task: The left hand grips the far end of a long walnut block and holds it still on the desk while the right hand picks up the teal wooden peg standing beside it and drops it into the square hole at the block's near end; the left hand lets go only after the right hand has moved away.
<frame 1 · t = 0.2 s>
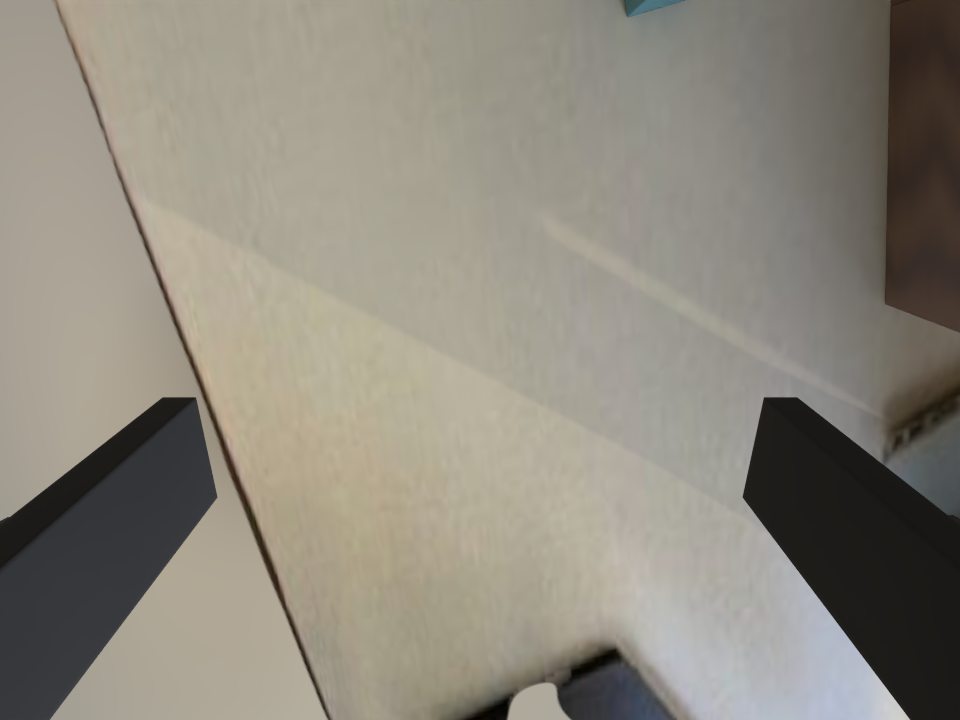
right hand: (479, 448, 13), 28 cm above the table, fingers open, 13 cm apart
hole block: (953, 85, 34), on the table
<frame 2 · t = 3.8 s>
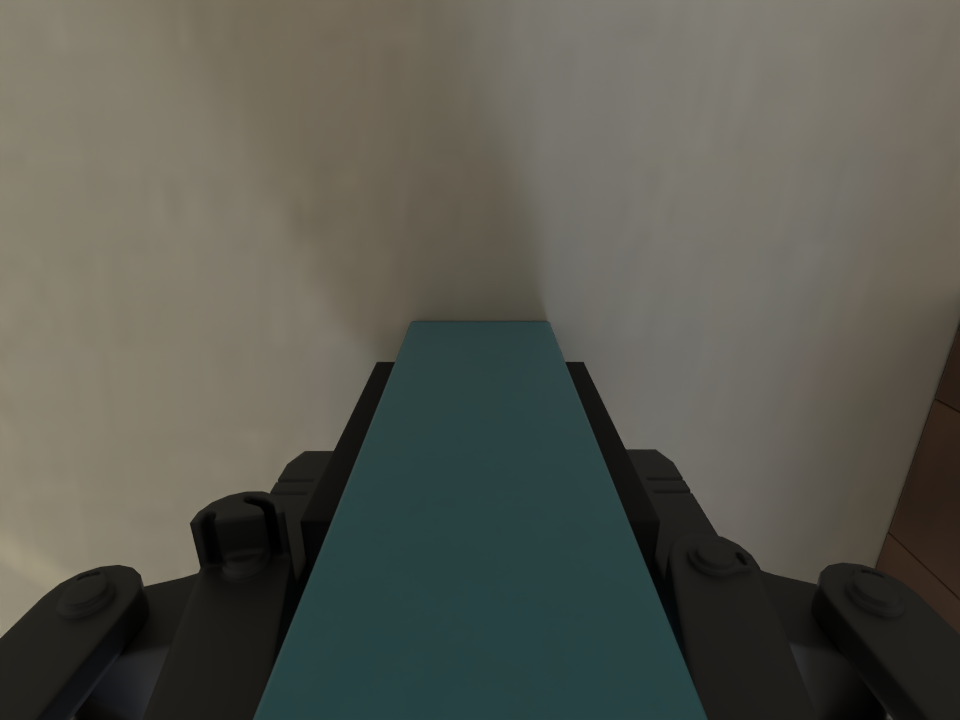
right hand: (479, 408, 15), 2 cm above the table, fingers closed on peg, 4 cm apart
peg: (480, 384, 16), on the table, touching right hand
hole block: (952, 651, 20), on the table
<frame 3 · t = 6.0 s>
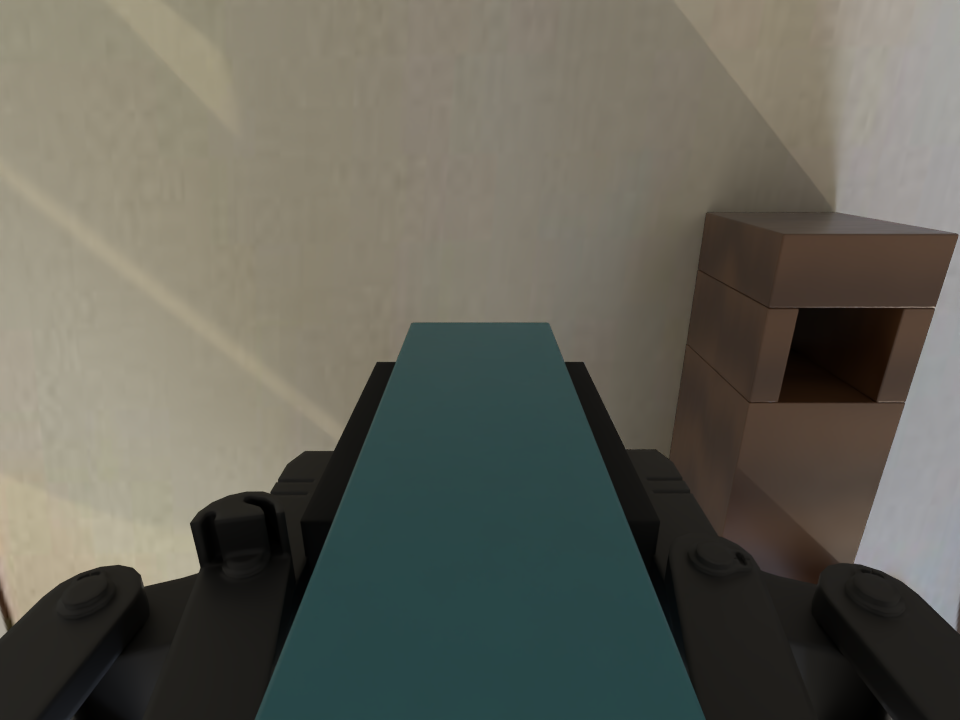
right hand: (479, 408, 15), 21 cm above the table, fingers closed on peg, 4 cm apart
peg: (480, 385, 16), point 19 cm above the table, touching right hand
hole block: (731, 417, 38), on the table, touching left hand
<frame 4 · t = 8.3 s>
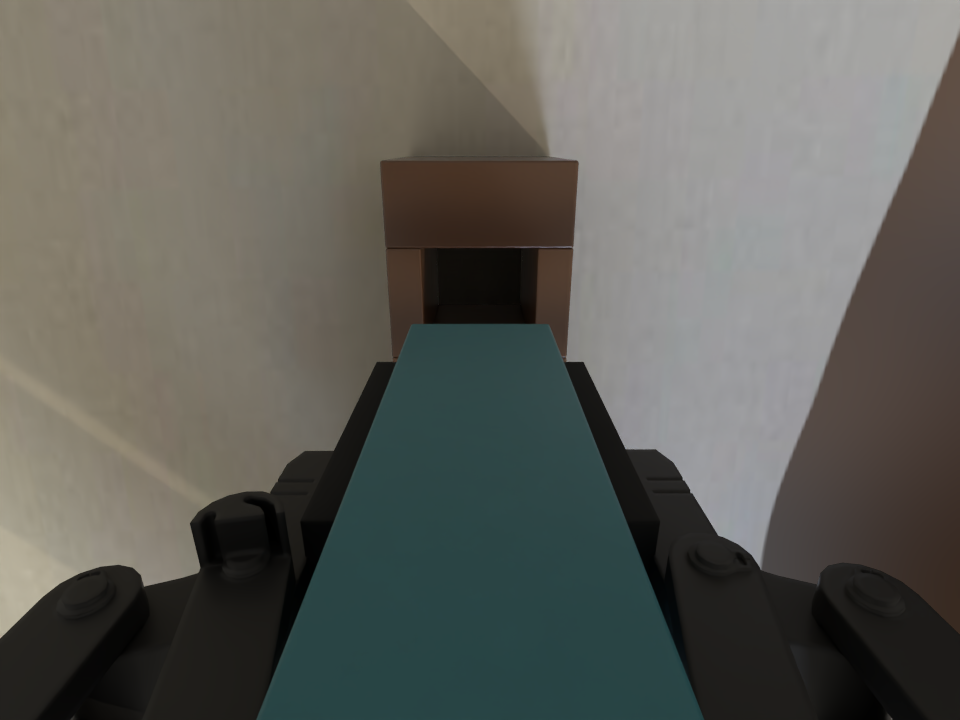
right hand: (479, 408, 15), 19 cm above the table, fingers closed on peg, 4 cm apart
peg: (480, 386, 16), point 17 cm above the table, touching right hand
hole block: (479, 385, 35), on the table, touching left hand
when the right hand's fingers open (11 cm above the table, at t = 10.2 s): peg drops 9 cm, resting in hole block.
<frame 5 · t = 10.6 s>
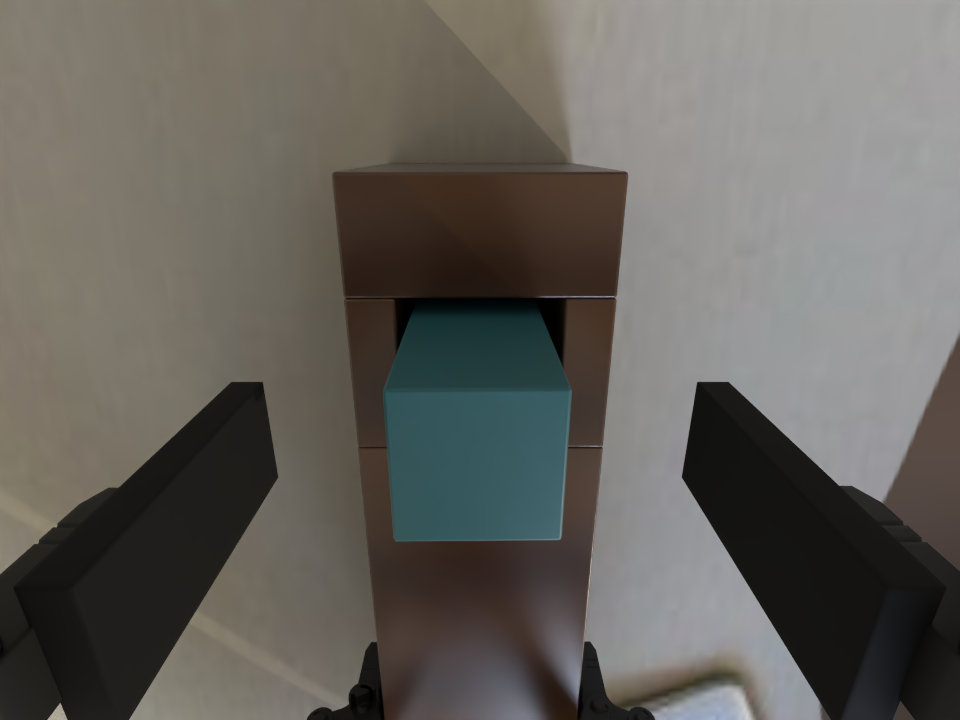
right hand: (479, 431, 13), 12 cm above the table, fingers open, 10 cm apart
peg: (475, 302, 25), resting in hole block
hole block: (480, 450, 28), on the table, touching left hand
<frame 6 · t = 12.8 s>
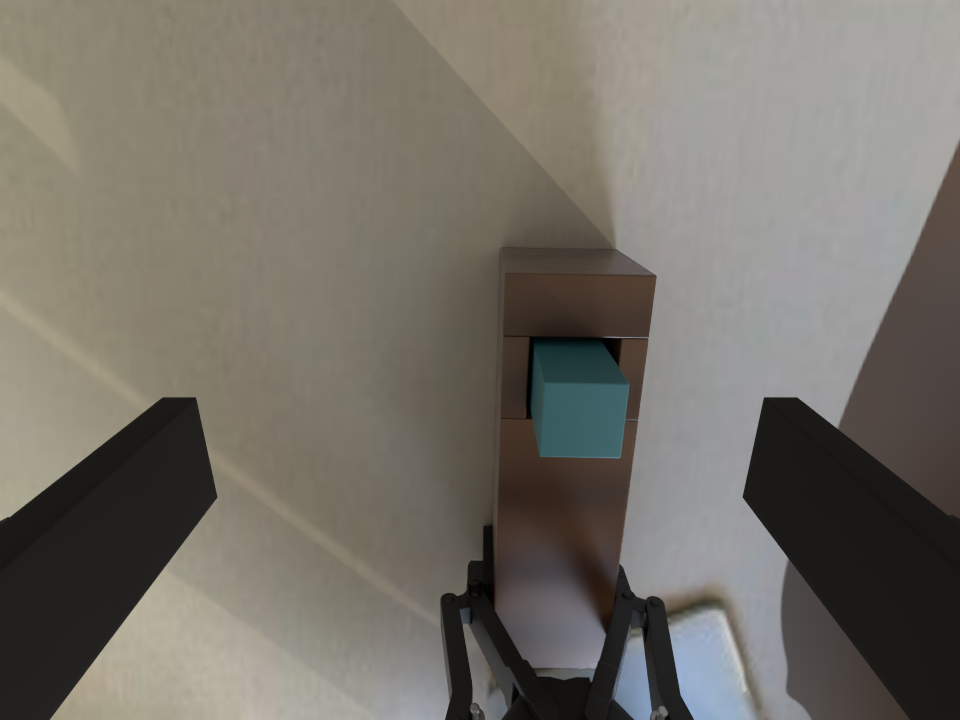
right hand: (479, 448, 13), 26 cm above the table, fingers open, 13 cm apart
peg: (549, 333, 39), resting in hole block
hole block: (546, 431, 41), on the table, touching left hand
when the left hand's fingers open (0 cm above the table, at t = 14.3 s): hole block stays where it is, on the table.
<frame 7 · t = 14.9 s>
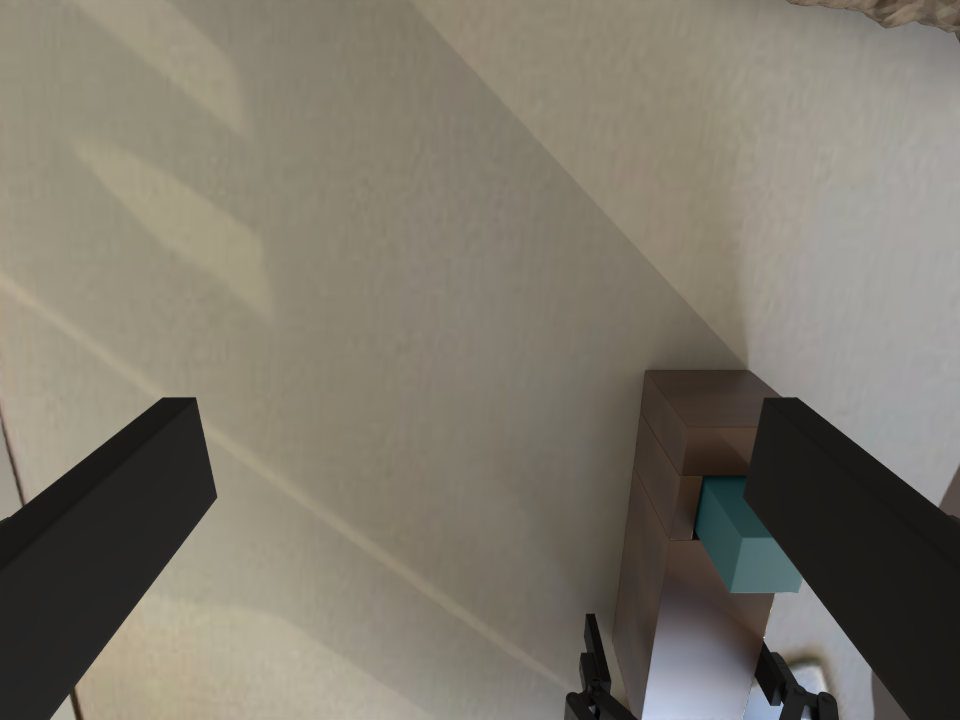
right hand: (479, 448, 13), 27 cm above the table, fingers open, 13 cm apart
peg: (683, 439, 43), resting in hole block
hole block: (673, 520, 46), on the table
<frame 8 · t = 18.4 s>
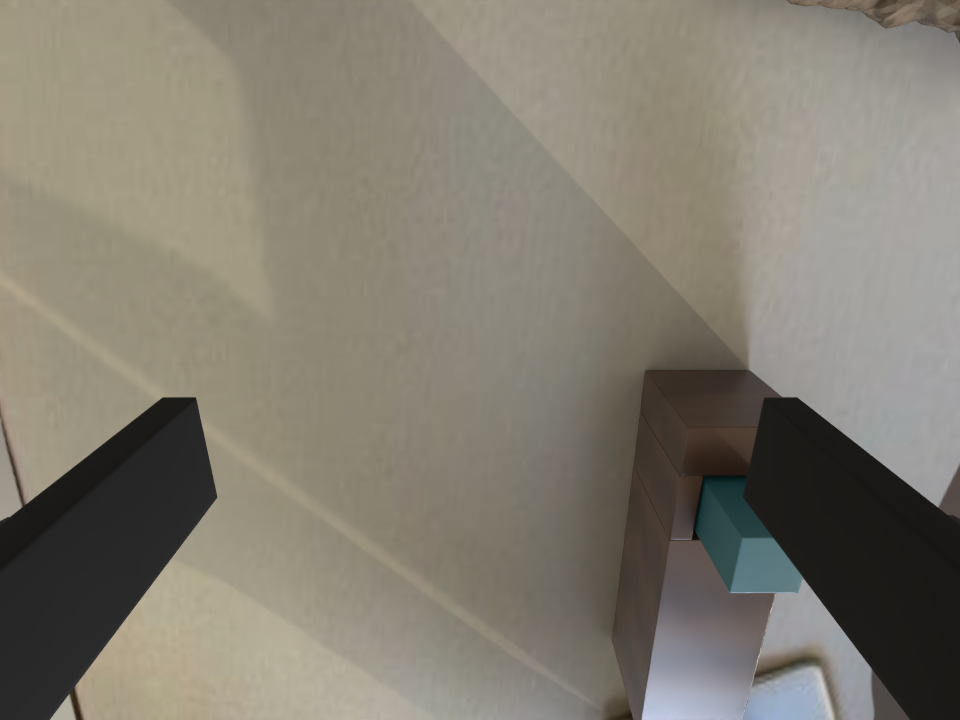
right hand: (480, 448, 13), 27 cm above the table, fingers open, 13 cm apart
peg: (683, 439, 43), resting in hole block
hole block: (673, 520, 46), on the table
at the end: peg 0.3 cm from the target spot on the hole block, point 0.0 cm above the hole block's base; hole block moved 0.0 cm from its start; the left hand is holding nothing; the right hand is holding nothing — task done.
